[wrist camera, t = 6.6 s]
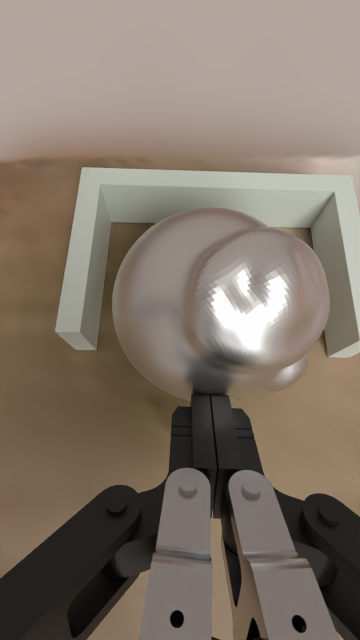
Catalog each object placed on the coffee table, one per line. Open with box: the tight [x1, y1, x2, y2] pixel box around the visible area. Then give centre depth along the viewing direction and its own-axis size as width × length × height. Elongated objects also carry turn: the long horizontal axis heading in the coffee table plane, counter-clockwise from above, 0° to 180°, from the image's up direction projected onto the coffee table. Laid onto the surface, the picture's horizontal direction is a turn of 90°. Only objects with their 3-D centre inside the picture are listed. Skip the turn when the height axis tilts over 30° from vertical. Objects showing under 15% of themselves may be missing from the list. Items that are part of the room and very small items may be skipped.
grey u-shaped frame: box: [55, 167, 360, 358], centre depth 19 cm, size 16×10×4 cm, turn 89°
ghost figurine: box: [112, 207, 330, 401], centre depth 14 cm, size 9×10×10 cm
